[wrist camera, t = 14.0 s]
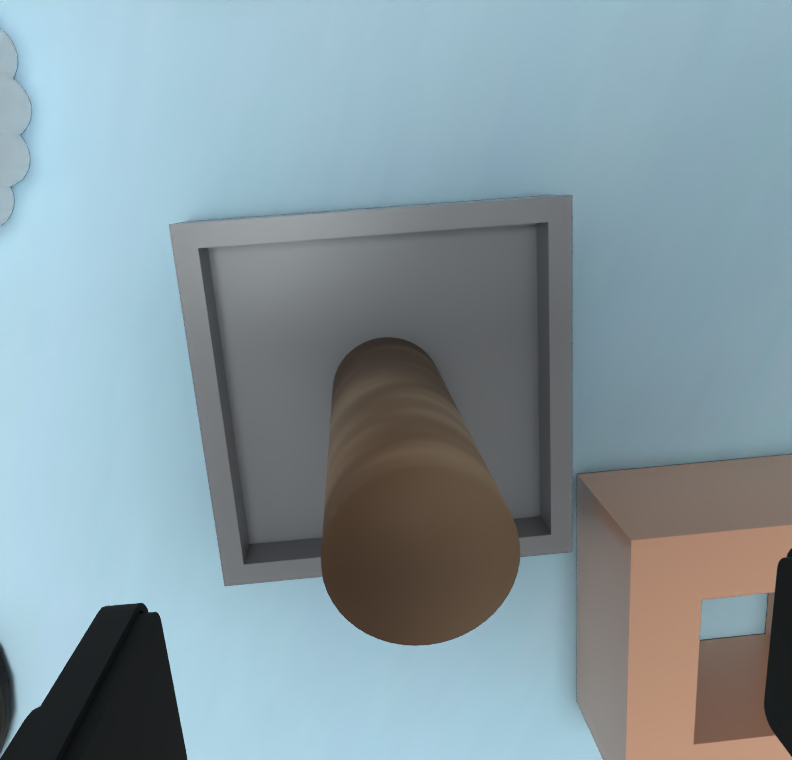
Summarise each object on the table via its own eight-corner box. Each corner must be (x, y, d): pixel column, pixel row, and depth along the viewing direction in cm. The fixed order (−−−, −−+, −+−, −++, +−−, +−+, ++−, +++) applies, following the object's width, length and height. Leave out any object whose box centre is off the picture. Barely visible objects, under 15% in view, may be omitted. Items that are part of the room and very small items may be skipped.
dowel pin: (438, 332, 25) (518, 457, 13) (444, 436, 26) (522, 634, 14) (327, 342, 25) (310, 476, 13) (338, 446, 26) (330, 654, 14)
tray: (550, 195, 25) (572, 195, 22) (553, 521, 28) (572, 551, 26) (186, 221, 24) (168, 224, 22) (235, 551, 28) (224, 586, 25)
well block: (839, 449, 28) (952, 508, 23) (814, 675, 31) (909, 773, 26) (577, 473, 28) (631, 540, 22) (576, 701, 31) (624, 807, 25)
